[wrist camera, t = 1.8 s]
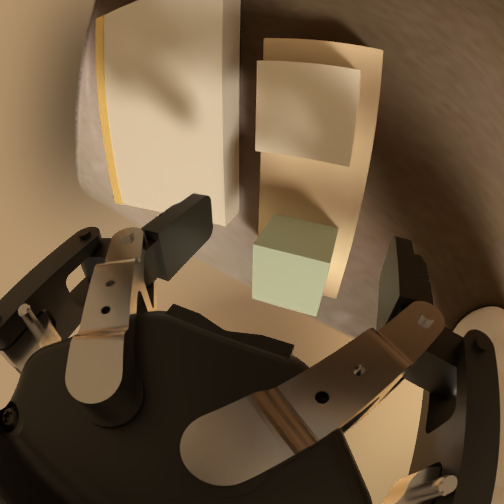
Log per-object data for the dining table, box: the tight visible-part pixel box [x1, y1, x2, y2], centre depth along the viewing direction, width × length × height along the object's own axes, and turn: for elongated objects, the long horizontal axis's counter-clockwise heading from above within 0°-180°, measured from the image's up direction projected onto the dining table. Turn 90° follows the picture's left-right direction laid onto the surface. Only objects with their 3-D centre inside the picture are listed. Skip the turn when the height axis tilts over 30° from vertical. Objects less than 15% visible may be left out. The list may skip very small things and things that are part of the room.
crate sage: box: [252, 214, 339, 316], centre depth 16 cm, size 4×4×4 cm
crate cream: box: [255, 60, 361, 167], centre depth 11 cm, size 4×4×4 cm
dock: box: [95, 0, 241, 226], centre depth 18 cm, size 18×12×3 cm, turn 0°
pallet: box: [258, 38, 383, 299], centre depth 16 cm, size 16×6×4 cm, turn 0°
